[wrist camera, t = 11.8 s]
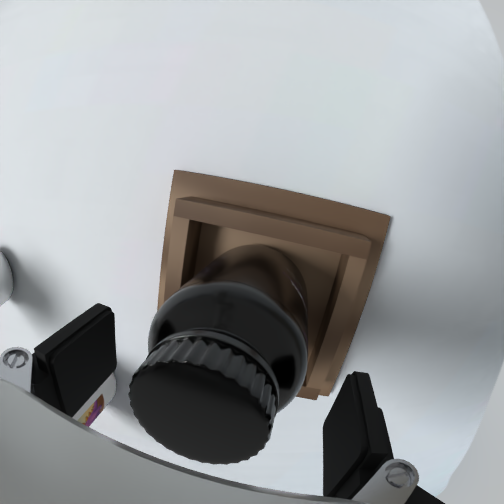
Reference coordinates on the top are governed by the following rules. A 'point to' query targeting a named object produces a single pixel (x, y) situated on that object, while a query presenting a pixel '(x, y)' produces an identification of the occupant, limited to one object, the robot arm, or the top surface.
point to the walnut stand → (287, 242)
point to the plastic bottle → (5, 280)
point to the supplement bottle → (225, 357)
